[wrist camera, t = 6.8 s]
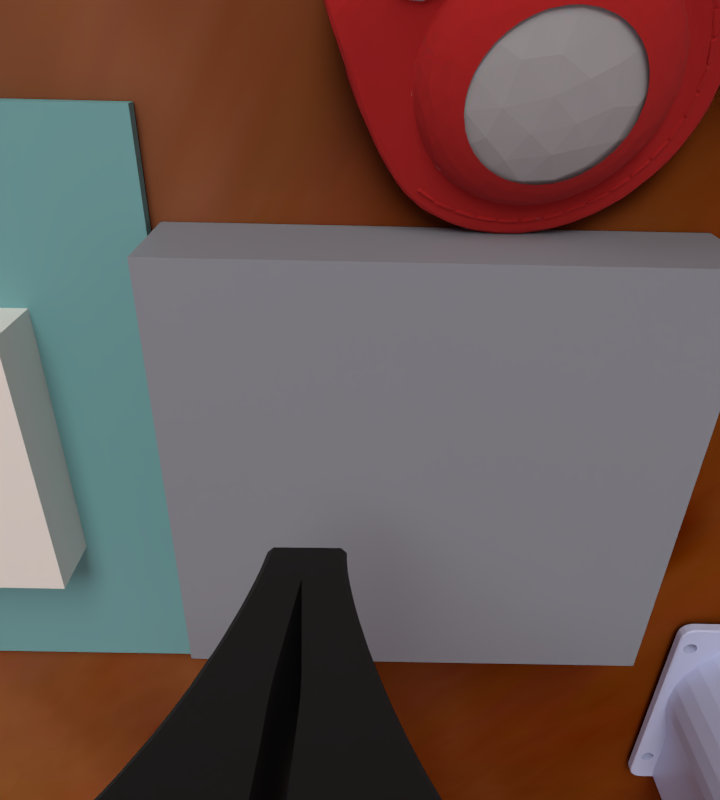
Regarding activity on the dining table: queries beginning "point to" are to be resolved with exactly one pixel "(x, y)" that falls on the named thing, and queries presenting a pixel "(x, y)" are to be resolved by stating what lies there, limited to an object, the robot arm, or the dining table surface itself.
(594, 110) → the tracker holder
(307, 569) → the robot arm
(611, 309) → the block
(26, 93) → the dining table surface
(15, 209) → the mat
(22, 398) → the tile
